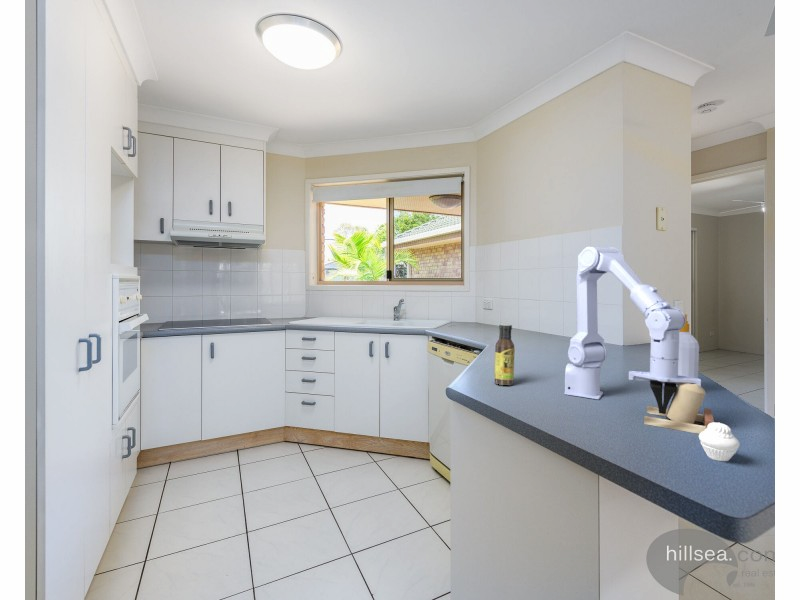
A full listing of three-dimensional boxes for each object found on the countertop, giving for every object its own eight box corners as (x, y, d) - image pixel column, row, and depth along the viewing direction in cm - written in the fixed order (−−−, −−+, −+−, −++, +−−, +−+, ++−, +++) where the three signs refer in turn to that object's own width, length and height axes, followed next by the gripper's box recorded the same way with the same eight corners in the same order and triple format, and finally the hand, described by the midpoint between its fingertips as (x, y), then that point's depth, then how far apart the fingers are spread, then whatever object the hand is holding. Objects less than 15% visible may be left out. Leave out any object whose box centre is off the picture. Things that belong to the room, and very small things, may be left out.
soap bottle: (696, 388, 124) (698, 313, 123) (699, 395, 116) (701, 315, 115) (663, 384, 129) (665, 312, 128) (664, 391, 121) (666, 314, 120)
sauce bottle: (505, 387, 126) (505, 326, 125) (490, 383, 131) (490, 324, 130) (518, 384, 130) (518, 324, 129) (503, 380, 135) (503, 323, 134)
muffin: (726, 467, 72) (728, 430, 72) (691, 454, 78) (692, 419, 77) (746, 461, 75) (747, 425, 74) (709, 448, 80) (711, 415, 80)
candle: (697, 429, 91) (713, 389, 89) (672, 422, 92) (687, 383, 90) (686, 418, 97) (700, 381, 95) (662, 412, 97) (675, 375, 95)
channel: (644, 423, 94) (644, 410, 94) (647, 411, 103) (647, 399, 102) (713, 436, 86) (714, 422, 86) (710, 422, 95) (711, 409, 95)
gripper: (628, 356, 97) (626, 411, 97) (702, 364, 88) (700, 423, 89) (630, 352, 102) (629, 403, 103) (701, 358, 94) (698, 414, 95)
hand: (662, 412), depth 96 cm, fingers closed
